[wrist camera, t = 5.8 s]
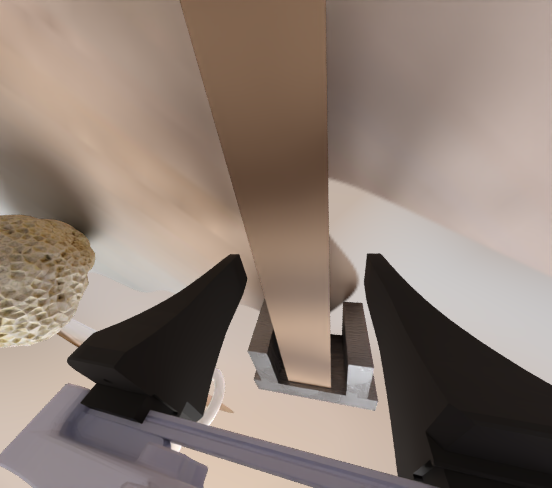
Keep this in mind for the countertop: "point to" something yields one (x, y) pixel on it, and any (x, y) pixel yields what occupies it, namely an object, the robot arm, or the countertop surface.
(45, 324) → the decorative item
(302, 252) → the rail
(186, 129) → the countertop surface
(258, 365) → the bracket
